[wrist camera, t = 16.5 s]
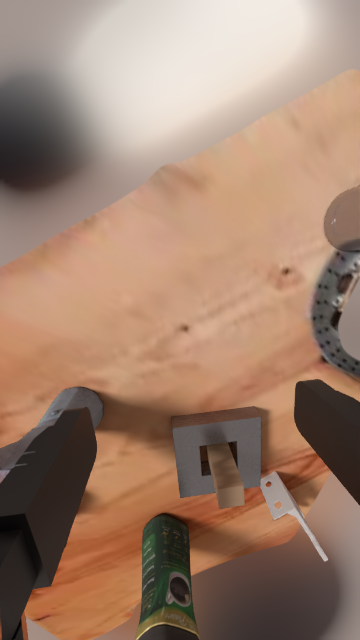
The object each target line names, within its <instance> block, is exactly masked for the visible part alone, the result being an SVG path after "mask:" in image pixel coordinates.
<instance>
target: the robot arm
mask: <svg viewBox="0 0 360 640" xmlns="http://www.w3.org/2000/svg"><path fill="white" fill-rule="evenodd" d="M324 227H325V234H326V237H327V239H328V241H329V242H330V243H331V245H333V246H334V247H335V248H337V249H339V250H343V251H352V250H360V185H359V186H357V187H354V188H352V189H350V190H347V191H345V192H343V193H342V194H340V195H339V196H338V197H337V198H336V199H335V200H334V201H333V202H332V203H331V205H330V207H329V209H328V211H327V214H326V216H325V223H324ZM294 419H295V423H296V426H297V428H298V430H299V432H300V433H301V435H302V436H303V437H304V438H305V440H306V441H307V442H308V443H309V444H310V446H311V447H312V448H313V449H314V451H315V452H316V453H317V454H318V455H319V457H320V458H321V459H322V460H323V461H324V463H325V464H326V465H327V466H328V468H329V469H330V470H331V471H332V472H333V474H334V475H335V476H336V477H337V478H338V480H339V481H340V482H341V483H342V485H343V486H344V487H345V488H346V489H347V491H348V492H349V493H350V494H351V496H352V497H353V498H354V499H355V500H356V502H357V503H358V504H359V505H360V402H359V401H357V400H356V399H354V398H352V397H350V396H348V395H345V394H343V393H341V392H339V391H336V390H334V389H333V388H331V387H330V386H329V385H327V384H326V383H324V382H323V381H322V380H319V379H315V380H307V381H299V382H297V384H296V388H295V407H294ZM96 453H97V441H96V436H95V432H94V427H93V423H92V418H91V414H90V410H89V408H88V407H81V408H73V409H66V410H64V411H63V412H62V414H61V415H60V417H59V418H58V420H57V421H56V423H55V424H54V425H53V426H48V427H47V428H46V429H45V430H44V431H42V432H41V433H40V434H39V435H38V436H36V437H35V438H34V439H33V441H32V442H31V443H30V445H29V446H28V447H27V449H26V450H25V451H24V454H23V455H21V457H20V458H19V459H18V461H17V462H16V463H15V466H14V468H12V469H11V470H10V471H9V473H8V474H7V475H6V477H5V478H4V479H3V481H2V482H1V483H0V640H28V633H27V625H26V617H25V613H24V609H25V607H26V604H27V602H28V599H29V597H30V595H31V592H32V590H33V589H37V588H43V587H49V586H51V584H52V582H53V579H54V576H55V573H56V570H57V567H58V565H59V562H60V559H61V556H62V553H63V550H64V547H65V545H66V542H67V539H68V536H69V533H70V530H71V527H72V525H73V522H74V519H75V516H76V513H77V510H78V508H79V505H80V502H81V499H82V496H83V493H84V490H85V488H86V485H87V482H88V479H89V476H90V473H91V471H92V468H93V465H94V462H95V459H96Z"/></svg>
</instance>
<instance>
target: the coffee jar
mask: <svg viewBox="0 0 360 640" xmlns="http://www.w3.org/2000/svg"><path fill="white" fill-rule="evenodd" d="M135 640H199V634H198V628H197V624H196V620H195V616H194V611H193V602H192V591H191V573H190V545H189V531H188V528H187V526H186V525H185V524H184V523H182V522H181V521H179V520H177V519H175V518H173V517H170V516H167V515H159V516H156V517H155V518H153V519H151V520H150V521H149V522H148V523H147V525H146V526H145V528H144V530H143V539H142V604H141V615H140V622H139V625H138V629H137V632H136V638H135Z"/></svg>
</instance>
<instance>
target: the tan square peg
mask: <svg viewBox="0 0 360 640" xmlns="http://www.w3.org/2000/svg"><path fill="white" fill-rule="evenodd" d="M206 449H207V457H208V461H209V466H210V470H211V474H212V479H213V483H214V487H215V492H216V496H217V500H218V505H219V509H223V508H229V507H235V506H241V505H244V485H243V482H242V480H241V477H240V474H239V471H238V469H237V466H236V463H235V460H234V458H233V455H232V452H231V450H230V447H229V444H228V442H226V443H219V444H211V445H206Z"/></svg>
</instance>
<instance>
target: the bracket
mask: <svg viewBox="0 0 360 640" xmlns="http://www.w3.org/2000/svg"><path fill="white" fill-rule="evenodd" d="M268 481H270V482H271V486H270V487H266V483H267V482H268ZM260 487H261V490H262V492H263V495H264V497H265V500H266V502H267V504H268V507H269V509H270V512H271V514H272V517H273V519H274V520H275V519H277V518H279V517H281V516H282V515H284V514H286V513H288V514H290V515H292V516H295V517H296V518H297V519H298V521H299V522H300V524H301V525H302V527H303V528H304V530H305V531H306V533H307V534H308V536H309V537H310V539H311V540H312V542H313V544H314V546H315V548H316V549H317V551H318V552H319V554H320V555H321V557H322V558H323V560H324V561H327V560H328V558H327V557H326V555H325V553H324V551H323V549H322V547H321V546H320V544H319V542H318V541H317V539H316V537H315V536H314V534H313V533H312V531H311V529H310V528H309V526H308V524H307V522H306V521H305V519H304V518H305V517H304V515H303V513H302V511H301V510H300V508H299V506H298V504H297V503H296V501H295V500H294V498H293V496H292V495H291V493H289V491H288V489H287V488H286V486H285V485H284V483H283V482H282V480H281V479H280V477H279V476H278V474H277V473H276V471H274V472H273V473H271V474H269V475H267V476H265V477H264V478H262V479H261V486H260ZM278 501H279V502H281V507H280V508H279V509H277V508H276V507H275V503H276V502H278Z"/></svg>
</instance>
